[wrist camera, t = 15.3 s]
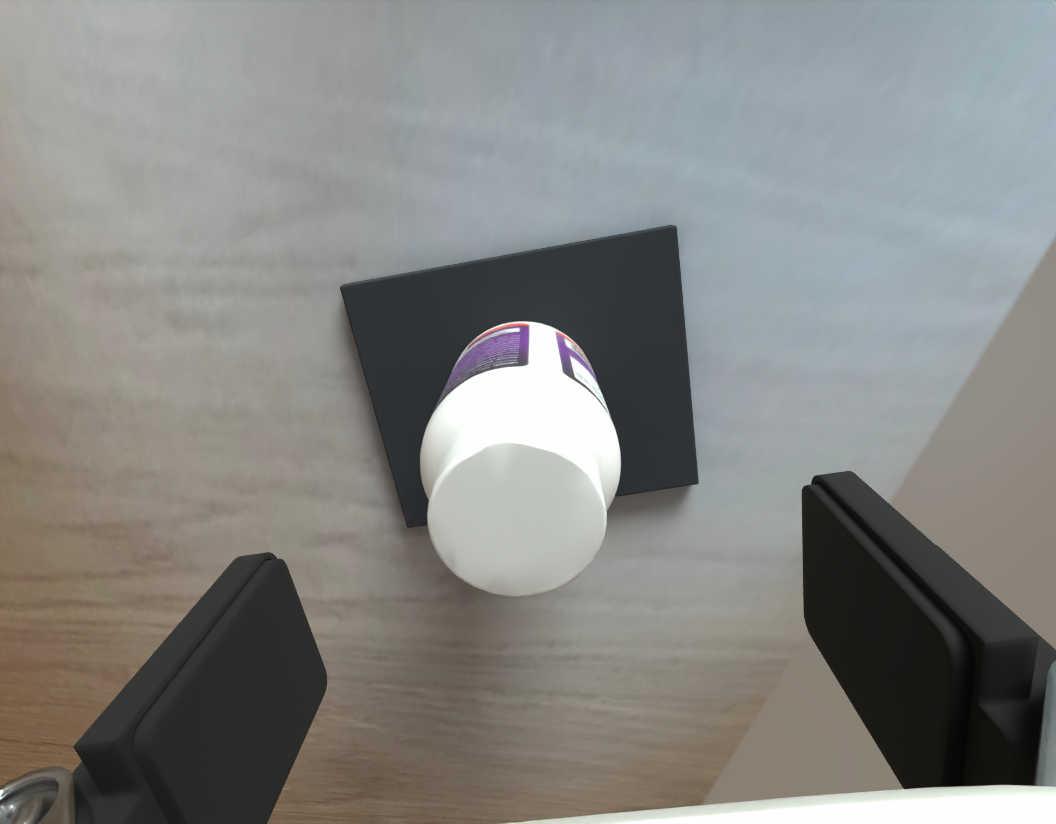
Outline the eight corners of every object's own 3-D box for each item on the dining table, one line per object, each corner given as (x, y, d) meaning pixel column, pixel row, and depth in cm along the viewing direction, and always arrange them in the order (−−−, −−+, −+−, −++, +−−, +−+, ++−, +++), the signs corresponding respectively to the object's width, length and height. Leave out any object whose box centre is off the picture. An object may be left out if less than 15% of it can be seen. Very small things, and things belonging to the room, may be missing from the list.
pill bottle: (441, 440, 23) (378, 600, 13) (465, 304, 21) (411, 382, 12) (576, 467, 23) (605, 642, 14) (611, 335, 21) (671, 436, 12)
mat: (673, 224, 20) (676, 225, 20) (695, 477, 24) (699, 484, 23) (344, 284, 21) (339, 286, 21) (409, 521, 24) (407, 528, 24)
